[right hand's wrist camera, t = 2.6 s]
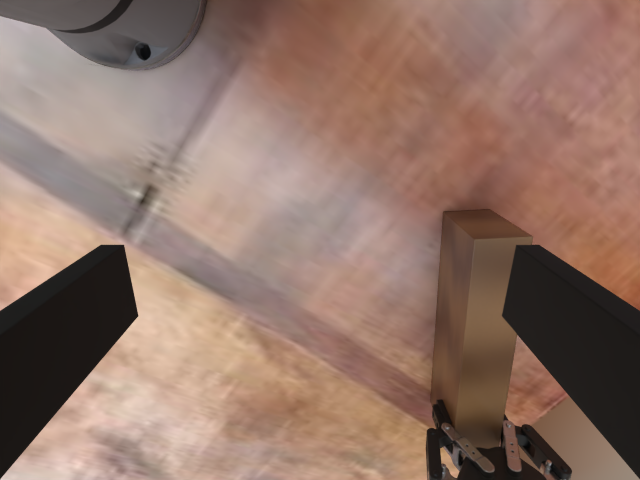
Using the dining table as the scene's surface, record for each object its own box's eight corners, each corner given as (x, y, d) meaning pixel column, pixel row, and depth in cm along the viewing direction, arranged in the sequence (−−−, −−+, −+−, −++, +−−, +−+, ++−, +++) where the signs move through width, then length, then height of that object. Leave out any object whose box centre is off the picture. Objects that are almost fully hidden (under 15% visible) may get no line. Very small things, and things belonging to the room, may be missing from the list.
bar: (443, 211, 41) (474, 239, 32) (490, 209, 40) (533, 236, 32) (430, 401, 50) (451, 459, 42) (468, 399, 50) (497, 458, 42)
